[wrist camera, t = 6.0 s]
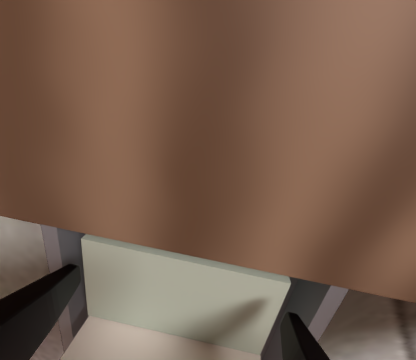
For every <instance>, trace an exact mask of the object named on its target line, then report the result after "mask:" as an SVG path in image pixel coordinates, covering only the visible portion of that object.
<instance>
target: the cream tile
mask: <svg viewBox="0 0 416 360" xmlns="http://www.w3.org/2000/svg"><path fill="white" fill-rule="evenodd" d="M60 360H261V357H260V355H257V354H253V353H249V352H244V351H240V350H236V349H231V348H227V347H223V346H218V345H214V344H210V343H205V342H201V341H197V340H192V339H188V338H184V337H180V336H175V335H171V334H167V333H162V332H158V331H154V330H149V329H145V328H141V327H136V326H132V325H128V324H124V323H119V322H115V321H111V320H106V319H102V318H98V317H93V316H89V317H88V318H87V320H86V321H85V323H84V324H83V326H82V327H81V329H80V330H79V332H78V333H77V335H76V336H75V338H74V339H73V341H72V342H71V344H70V345H69V347H68V348H67V350H66V351H65V353H64V354H63V356H62V357H61V359H60Z"/></svg>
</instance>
